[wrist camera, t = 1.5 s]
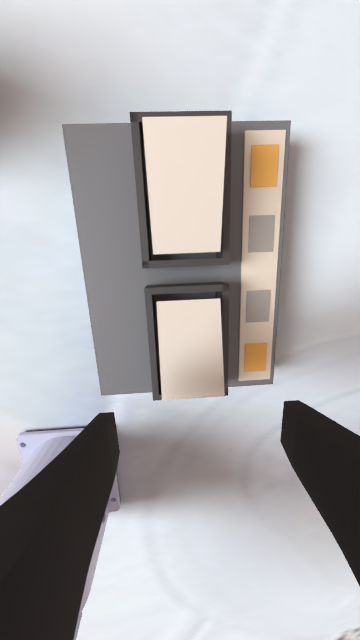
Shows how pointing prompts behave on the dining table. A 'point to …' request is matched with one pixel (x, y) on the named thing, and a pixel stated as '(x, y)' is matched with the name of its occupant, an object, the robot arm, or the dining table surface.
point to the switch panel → (182, 268)
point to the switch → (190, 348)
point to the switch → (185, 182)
